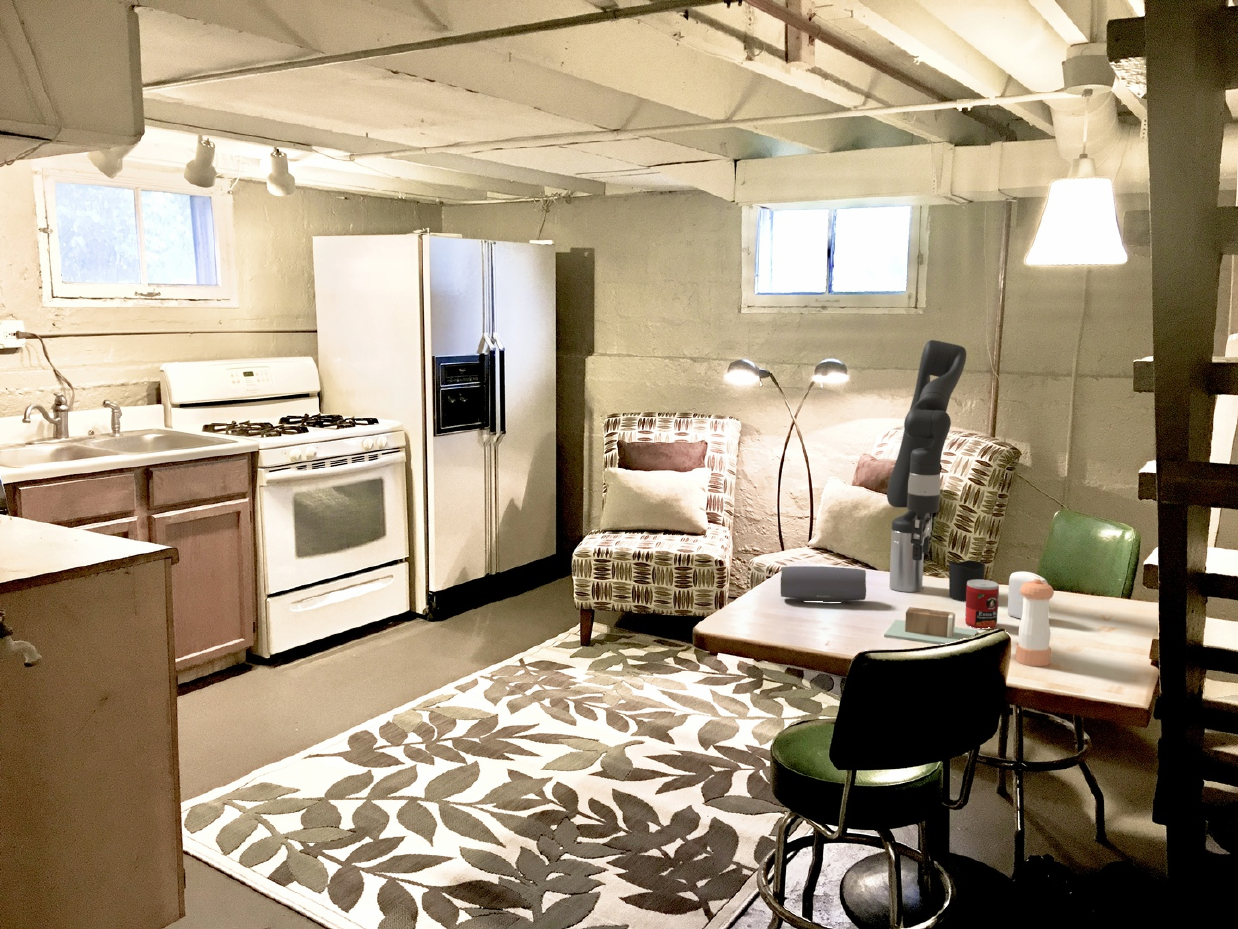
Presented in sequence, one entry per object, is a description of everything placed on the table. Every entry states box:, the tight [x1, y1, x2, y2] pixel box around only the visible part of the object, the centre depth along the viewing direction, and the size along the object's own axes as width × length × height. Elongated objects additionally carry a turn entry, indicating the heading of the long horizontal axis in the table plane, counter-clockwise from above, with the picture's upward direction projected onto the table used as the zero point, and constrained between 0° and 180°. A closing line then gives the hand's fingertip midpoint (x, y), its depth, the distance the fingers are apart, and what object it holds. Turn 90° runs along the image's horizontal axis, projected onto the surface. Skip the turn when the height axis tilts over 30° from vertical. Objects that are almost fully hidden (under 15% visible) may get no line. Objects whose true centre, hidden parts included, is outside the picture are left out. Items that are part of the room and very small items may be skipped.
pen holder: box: [948, 559, 986, 602], centre depth 277 cm, size 9×9×10 cm
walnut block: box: [904, 606, 956, 638], centre depth 244 cm, size 5×5×11 cm
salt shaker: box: [1015, 579, 1055, 667], centre depth 224 cm, size 7×7×19 cm
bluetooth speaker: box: [780, 565, 867, 603], centre depth 273 cm, size 23×9×10 cm, turn 82°
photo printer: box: [1007, 571, 1049, 620], centre depth 257 cm, size 10×4×12 cm, turn 29°
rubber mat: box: [883, 619, 978, 645], centre depth 244 cm, size 14×20×1 cm
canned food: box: [964, 579, 1000, 630], centre depth 252 cm, size 8×8×11 cm
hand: (920, 556), depth 243 cm, fingers open, 8 cm apart
